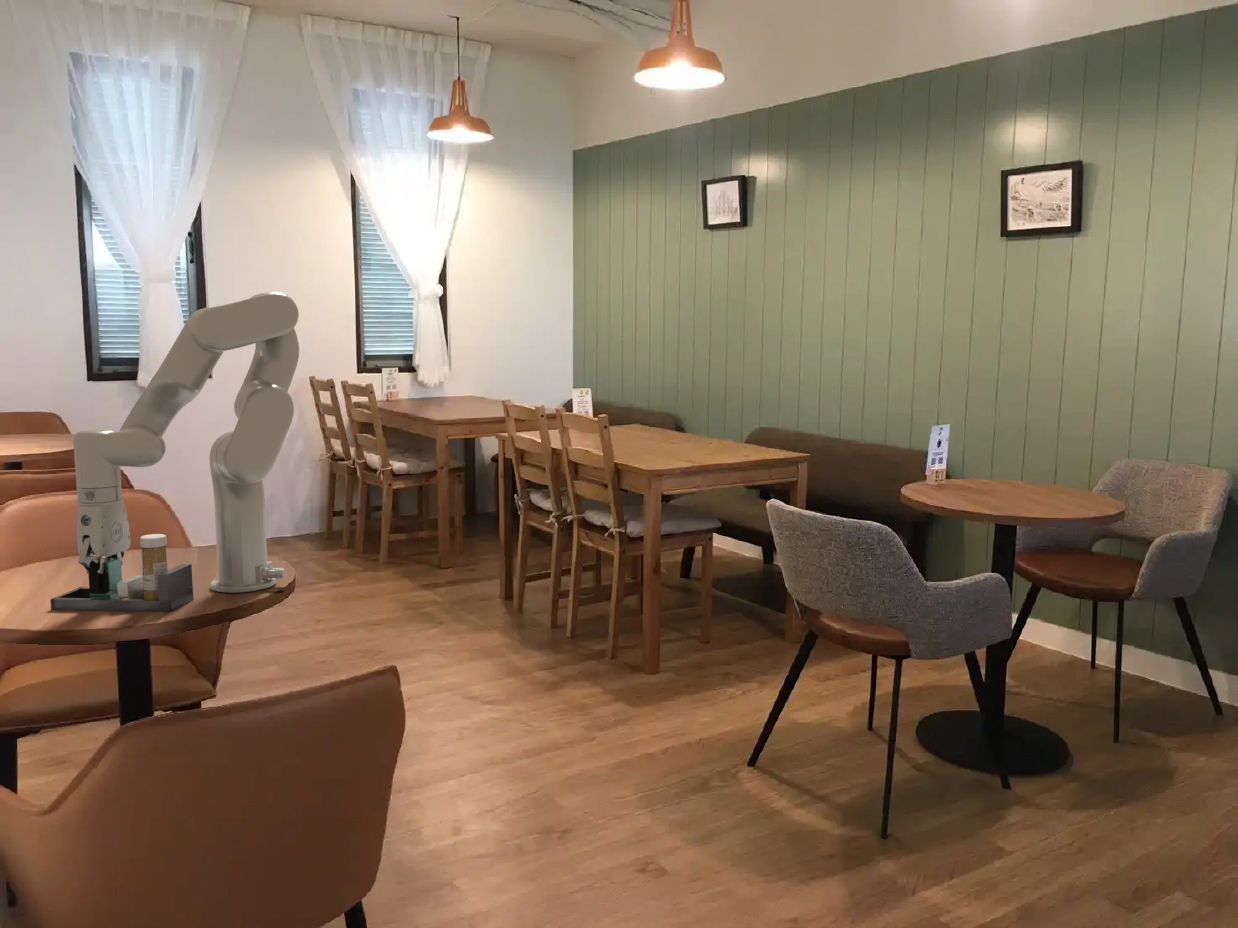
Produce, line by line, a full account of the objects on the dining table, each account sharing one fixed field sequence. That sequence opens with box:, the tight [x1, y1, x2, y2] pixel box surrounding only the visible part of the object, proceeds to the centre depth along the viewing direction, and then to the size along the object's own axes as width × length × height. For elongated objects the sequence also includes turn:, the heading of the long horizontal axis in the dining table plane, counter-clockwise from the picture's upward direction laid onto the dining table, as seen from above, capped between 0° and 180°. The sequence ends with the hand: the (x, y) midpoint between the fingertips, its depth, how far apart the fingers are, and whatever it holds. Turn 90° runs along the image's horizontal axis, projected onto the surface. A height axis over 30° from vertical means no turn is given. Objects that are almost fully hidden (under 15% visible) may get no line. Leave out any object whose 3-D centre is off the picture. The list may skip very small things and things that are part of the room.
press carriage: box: [90, 558, 144, 599], centre depth 191 cm, size 8×6×8 cm
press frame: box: [49, 563, 194, 613], centre depth 191 cm, size 23×9×7 cm, turn 85°
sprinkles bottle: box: [139, 533, 169, 600], centre depth 190 cm, size 5×5×13 cm
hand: (106, 589), depth 192 cm, fingers closed on press carriage, 4 cm apart
